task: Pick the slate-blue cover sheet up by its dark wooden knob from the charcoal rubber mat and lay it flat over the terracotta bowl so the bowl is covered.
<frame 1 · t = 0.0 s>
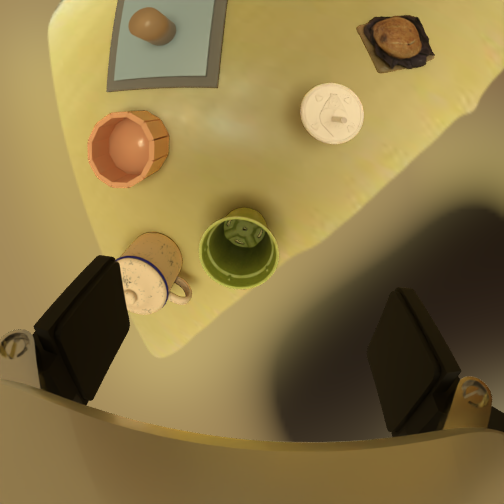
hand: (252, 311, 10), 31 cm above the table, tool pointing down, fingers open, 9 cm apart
bowl: (136, 144, 37), on the table
smoothie: (317, 112, 34), on the table
plant pot: (244, 226, 42), on the table
bread roll: (395, 42, 29), on the table
cover sheet: (163, 33, 29), resting on mat
teacup with lid: (165, 260, 46), on the table
mat: (164, 34, 30), on the table
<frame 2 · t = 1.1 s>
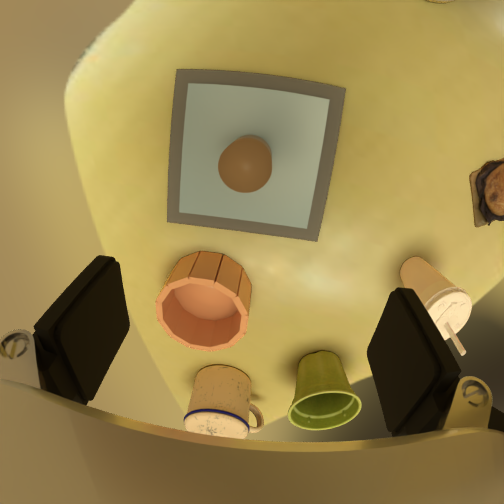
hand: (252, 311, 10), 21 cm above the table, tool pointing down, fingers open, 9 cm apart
bowl: (209, 288, 35), on the table
smoothie: (412, 269, 32), on the table
plant pot: (318, 363, 40), on the table
bread roll: (496, 188, 27), on the table
cover sheet: (250, 154, 27), resting on mat
teacup with lid: (231, 384, 43), on the table
mat: (250, 153, 28), on the table
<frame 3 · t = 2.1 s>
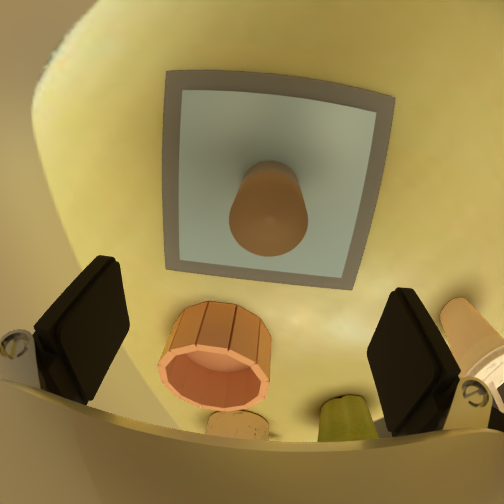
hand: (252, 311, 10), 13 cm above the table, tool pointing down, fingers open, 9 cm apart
bowl: (221, 340, 29), on the table
smoothie: (453, 310, 26), on the table
plant pot: (342, 405, 34), on the table
cover sheet: (270, 186, 21), resting on mat
teacup with lid: (247, 425, 38), on the table
mat: (270, 184, 21), on the table
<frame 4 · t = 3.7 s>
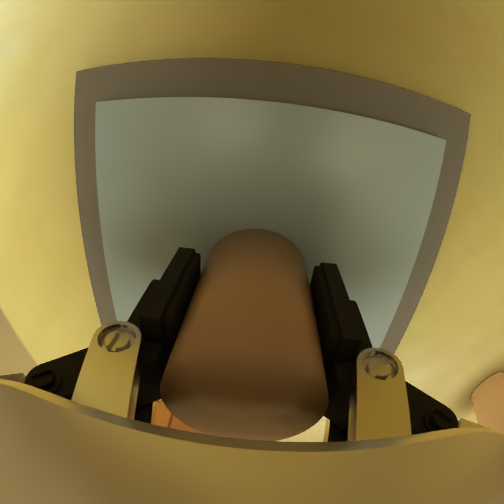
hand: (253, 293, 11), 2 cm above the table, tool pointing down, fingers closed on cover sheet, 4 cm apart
bowl: (198, 433, 20), on the table
smoothie: (487, 385, 17), on the table
cover sheet: (256, 268, 12), resting on mat, touching gripper
mat: (256, 262, 13), on the table
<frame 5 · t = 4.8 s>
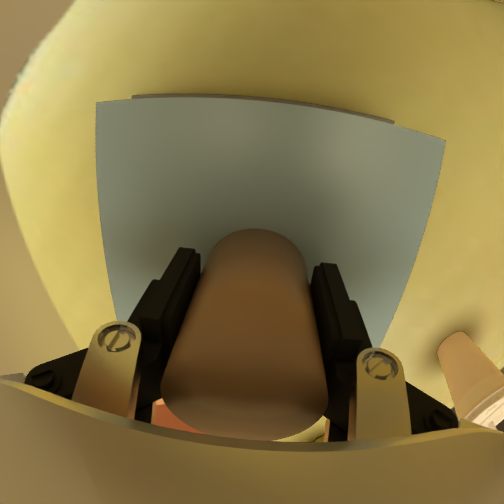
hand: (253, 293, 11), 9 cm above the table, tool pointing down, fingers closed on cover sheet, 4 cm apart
bowl: (204, 383, 26), on the table
smoothie: (451, 344, 24), on the table
cover sheet: (256, 268, 12), point 7 cm above the table, touching gripper
mat: (251, 224, 19), on the table
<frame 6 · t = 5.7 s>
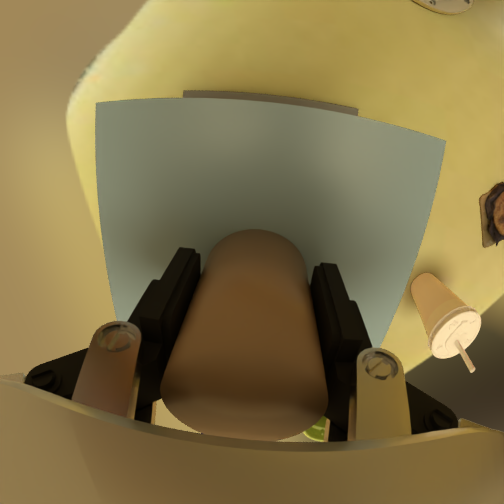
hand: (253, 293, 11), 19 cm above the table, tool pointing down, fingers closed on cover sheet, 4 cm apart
smoothie: (422, 284, 32), on the table
plant pot: (330, 376, 40), on the table
cover sheet: (256, 268, 12), point 17 cm above the table, touching gripper
mat: (263, 178, 28), on the table
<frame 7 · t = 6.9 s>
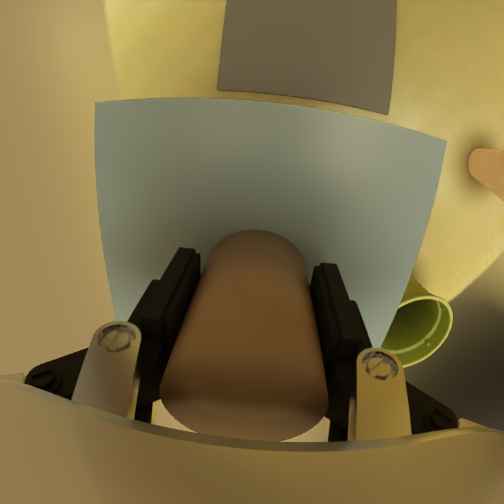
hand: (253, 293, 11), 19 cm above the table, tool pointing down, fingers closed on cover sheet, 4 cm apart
smoothie: (478, 163, 25), on the table
plant pot: (387, 286, 33), on the table
cover sheet: (256, 269, 12), point 18 cm above the table, touching gripper
mat: (313, 21, 20), on the table
when the fingers open (9 cm above the table, at t = 9.0 s): cover sheet drops 2 cm, resting on bowl.
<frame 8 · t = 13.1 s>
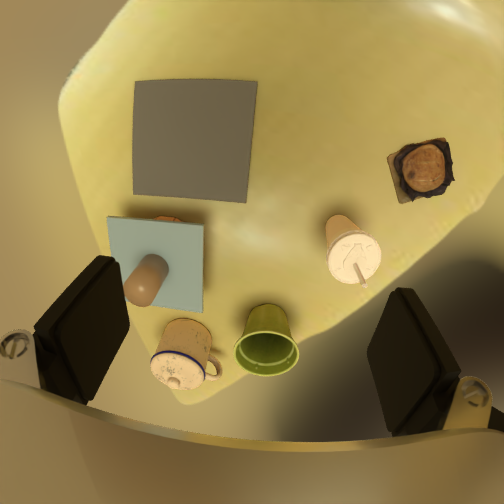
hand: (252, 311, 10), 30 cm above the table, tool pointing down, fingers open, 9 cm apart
smoothie: (338, 226, 40), on the table
plant pot: (267, 317, 48), on the table
bread roll: (421, 168, 36), on the table
cover sheet: (156, 265, 38), point 5 cm above the table, touching bowl
teacup with lid: (195, 338, 51), on the table
mat: (189, 138, 36), on the table
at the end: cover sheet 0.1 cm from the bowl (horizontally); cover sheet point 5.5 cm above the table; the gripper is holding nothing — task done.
